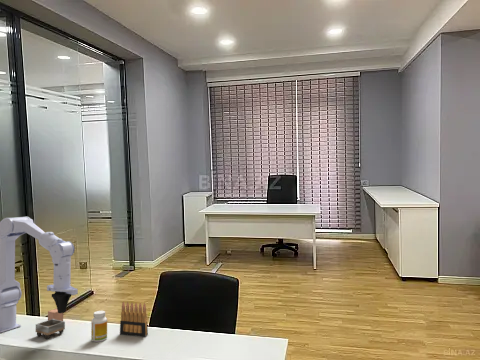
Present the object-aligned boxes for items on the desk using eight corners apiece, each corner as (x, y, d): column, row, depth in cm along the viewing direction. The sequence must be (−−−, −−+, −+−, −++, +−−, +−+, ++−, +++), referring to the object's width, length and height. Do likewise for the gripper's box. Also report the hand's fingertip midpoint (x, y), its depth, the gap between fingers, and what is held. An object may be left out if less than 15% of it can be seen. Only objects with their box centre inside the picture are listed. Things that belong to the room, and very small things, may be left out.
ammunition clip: (147, 335, 141) (148, 302, 141) (145, 337, 139) (145, 304, 140) (122, 332, 144) (122, 300, 144) (119, 334, 142) (119, 302, 142)
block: (47, 326, 151) (47, 311, 151) (56, 323, 154) (56, 308, 154) (54, 328, 149) (54, 312, 149) (63, 324, 152) (63, 309, 153)
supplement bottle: (110, 337, 138) (110, 311, 139) (99, 343, 134) (99, 315, 134) (99, 335, 141) (99, 309, 141) (88, 340, 136) (88, 313, 136)
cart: (35, 336, 140) (35, 324, 140) (52, 330, 146) (52, 318, 146) (47, 339, 137) (47, 327, 137) (64, 333, 143) (64, 321, 143)
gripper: (39, 275, 139) (39, 312, 139) (65, 279, 132) (65, 318, 132) (56, 271, 145) (56, 307, 145) (82, 275, 139) (82, 312, 138)
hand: (61, 312), depth 139 cm, fingers closed
